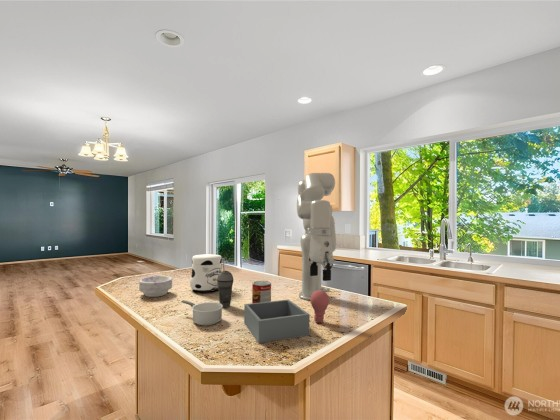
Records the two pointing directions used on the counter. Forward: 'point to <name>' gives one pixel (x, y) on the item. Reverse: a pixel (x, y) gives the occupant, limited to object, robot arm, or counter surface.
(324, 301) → the pink rounded bulb shape
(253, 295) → the canned food
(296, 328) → the bin
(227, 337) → the counter surface
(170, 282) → the paper bowls
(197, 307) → the saucepan
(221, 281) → the beverage cup
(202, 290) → the milk container
